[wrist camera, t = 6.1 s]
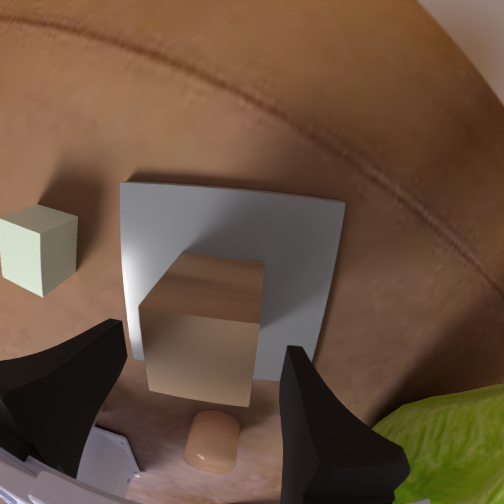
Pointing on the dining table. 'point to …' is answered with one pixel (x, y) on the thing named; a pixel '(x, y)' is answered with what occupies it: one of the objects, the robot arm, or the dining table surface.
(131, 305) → the slate coaster
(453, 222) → the dining table surface
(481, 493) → the lettuce
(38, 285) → the pale green block
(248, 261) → the walnut block
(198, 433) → the peach rounded cylinder
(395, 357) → the dining table surface
